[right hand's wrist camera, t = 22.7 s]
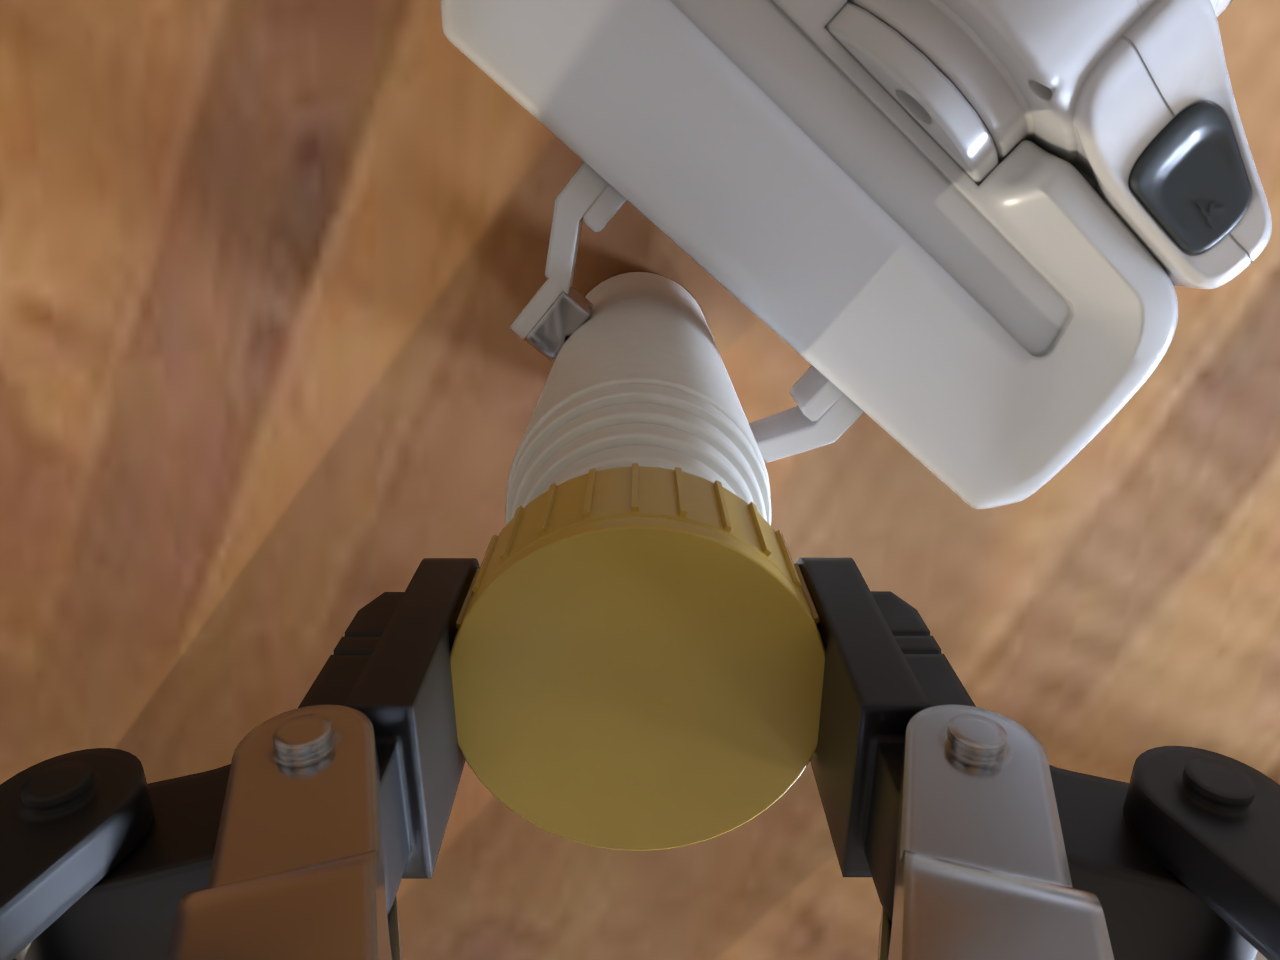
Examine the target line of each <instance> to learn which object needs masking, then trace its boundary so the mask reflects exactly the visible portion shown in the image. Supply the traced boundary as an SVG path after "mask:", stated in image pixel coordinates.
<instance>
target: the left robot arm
mask: <svg viewBox="0 0 1280 960" xmlns="http://www.w3.org/2000/svg"><path fill="white" fill-rule="evenodd" d="M1231 2H1232V0H440V9H441V21H442V30H443V33H444V35H445V36H446V38H447V39H448V40H449V41H450V42H451V43H452V44H453V45H454V46H456V47H457V48H458V49H459V50H460V51H461V52H462V53H463V54H464V55H465V56H467V57H468V58H469V59H470V60H471V61H472V62H473V63H474V64H476V65H477V66H478V67H479V68H480V69H481V70H482V71H483V72H485V73H486V74H487V75H488V76H489V77H490V78H491V79H492V80H493V81H495V82H496V83H497V84H498V85H499V86H500V87H501V88H502V89H504V90H505V91H506V92H507V93H508V94H509V95H510V96H511V97H512V98H514V99H515V100H516V101H517V102H518V103H519V104H520V105H521V106H523V107H524V108H525V109H526V110H527V111H528V112H529V113H530V114H532V115H533V116H534V117H535V118H536V119H537V120H538V121H539V122H540V123H542V124H543V125H544V126H545V127H546V128H547V129H548V130H549V131H551V132H552V133H553V134H554V135H555V136H556V137H557V138H558V139H560V140H561V141H562V142H563V143H564V144H565V145H566V146H567V147H568V148H570V149H571V150H572V151H573V152H574V153H575V154H576V155H577V156H579V157H580V158H581V159H582V160H583V161H584V163H583V164H582V165H581V167H580V168H579V169H578V171H577V172H576V173H575V174H574V176H573V177H572V178H571V180H570V181H569V182H568V183H567V185H566V186H565V187H564V189H563V190H562V191H561V192H560V194H559V195H558V196H557V198H556V199H555V206H554V213H553V220H552V227H551V234H550V241H549V248H548V255H547V262H546V269H545V276H546V277H547V278H548V279H547V280H546V281H545V282H544V284H543V285H542V286H541V287H540V289H539V290H538V291H537V292H536V294H535V295H534V296H533V297H532V299H531V300H530V301H529V302H528V304H527V305H526V306H525V307H524V309H523V310H522V311H521V313H520V314H519V315H518V317H517V318H516V319H515V321H514V322H513V323H512V325H511V326H510V327H509V328H510V329H511V330H512V331H514V332H515V333H516V334H517V335H518V336H519V337H520V338H521V339H524V340H525V341H526V342H527V343H529V344H530V345H531V346H532V347H534V348H535V349H536V350H537V351H539V352H540V353H541V354H543V355H544V356H545V357H546V358H548V359H549V360H550V361H552V360H553V359H554V358H555V357H556V356H557V355H558V353H559V351H560V350H561V348H562V347H563V345H564V343H565V341H566V339H567V336H568V335H572V334H573V333H574V332H575V331H576V330H577V329H578V328H580V327H581V326H582V324H583V323H584V322H585V321H586V320H587V318H588V317H589V316H590V314H591V309H592V307H593V304H592V303H591V302H590V301H589V300H588V299H586V298H585V297H584V296H583V295H582V294H581V293H580V292H578V291H577V290H576V289H575V288H574V287H573V286H572V284H573V278H574V272H575V266H576V259H577V253H578V247H579V241H580V235H581V229H582V223H583V219H584V223H585V224H586V225H587V226H588V227H589V228H591V229H592V230H593V231H594V232H599V231H601V230H602V229H603V228H604V227H605V225H606V224H607V223H608V222H609V221H610V219H611V218H612V217H613V216H614V214H615V213H616V212H617V211H618V210H619V208H620V207H621V206H622V205H623V204H624V202H625V201H626V200H628V201H629V202H630V203H631V204H632V205H633V206H634V207H636V208H637V209H638V210H639V211H640V212H641V213H642V214H643V215H645V216H646V217H647V218H648V219H649V220H650V221H651V222H652V223H654V224H655V225H656V226H657V227H658V228H659V229H660V230H661V231H662V232H664V233H665V234H666V235H667V236H668V237H669V238H670V239H671V240H673V241H674V242H675V243H676V244H677V245H678V246H679V247H680V248H682V249H683V250H684V251H685V252H686V253H687V254H688V255H689V256H690V257H692V258H693V259H694V260H695V261H696V262H697V263H698V264H699V265H701V266H702V267H703V268H704V269H705V270H706V271H707V272H708V273H709V274H711V275H712V276H713V277H714V278H715V279H716V280H717V281H718V282H720V283H721V284H722V285H723V286H724V287H725V288H726V289H727V290H729V291H730V292H731V293H732V294H733V295H734V296H735V297H736V298H737V299H739V300H740V301H741V302H742V303H743V304H744V305H745V306H746V307H748V308H749V309H750V310H751V311H752V312H753V313H754V314H755V315H757V316H758V317H759V318H760V319H761V320H762V321H763V322H764V323H765V324H767V325H768V326H769V327H770V328H771V329H772V330H773V331H774V332H776V333H777V334H778V335H779V336H780V337H781V338H782V339H783V340H784V341H786V342H787V343H788V344H789V345H790V346H791V347H792V348H793V349H795V350H796V351H797V352H798V353H799V354H800V355H801V356H802V357H804V358H805V359H806V360H807V361H808V362H809V363H810V364H811V365H812V366H811V367H810V368H809V369H808V370H807V371H806V372H805V373H804V374H803V375H802V376H801V378H800V379H799V380H798V381H797V382H796V383H795V384H794V385H793V386H792V387H791V389H790V394H791V396H792V397H793V399H794V400H795V402H796V404H797V405H798V406H796V407H794V408H791V409H788V410H785V411H782V412H780V413H777V414H774V415H771V416H769V417H766V418H763V419H760V420H758V421H755V422H752V423H749V426H750V428H751V431H752V433H753V436H754V438H755V440H756V443H757V445H758V448H759V450H760V452H761V455H762V457H763V460H765V461H766V462H767V463H768V462H771V461H774V460H778V459H781V458H784V457H787V456H791V455H794V454H797V453H801V452H804V451H807V450H811V449H814V448H817V447H821V446H824V445H827V444H831V443H834V442H835V441H836V440H837V439H838V438H839V437H840V436H841V435H842V434H843V433H844V432H845V431H846V430H847V429H848V428H849V427H850V426H851V425H852V424H853V423H854V422H855V421H856V420H857V419H858V418H859V417H860V416H861V415H862V414H863V413H864V412H865V413H866V414H867V415H868V416H870V417H871V418H872V419H873V420H874V421H875V422H876V423H877V424H879V425H880V426H881V427H882V428H883V429H884V430H885V431H886V432H887V433H889V434H890V435H891V436H892V437H893V438H894V439H895V440H896V441H898V442H899V443H900V444H901V445H902V446H903V447H904V448H905V449H907V450H908V451H909V452H910V453H911V454H912V455H913V456H914V457H915V458H917V459H918V460H919V461H920V462H921V463H922V464H923V465H924V466H926V467H927V468H928V469H929V470H930V471H931V472H932V473H933V474H934V475H936V476H937V477H938V478H939V479H940V480H941V481H942V482H943V483H945V484H946V485H947V486H948V487H949V488H950V489H951V490H952V491H954V492H955V493H956V494H957V495H958V496H959V497H960V498H961V499H963V500H964V501H965V502H966V503H967V504H968V505H969V506H971V507H973V508H975V509H985V508H992V507H998V506H1003V505H1007V504H1012V503H1016V502H1020V501H1022V500H1024V499H1026V498H1027V497H1029V496H1030V495H1032V494H1033V493H1035V492H1036V491H1037V490H1038V489H1040V488H1041V487H1042V486H1043V485H1044V484H1046V483H1047V482H1048V481H1049V480H1050V479H1051V478H1053V477H1054V476H1055V475H1056V474H1057V473H1058V472H1059V471H1060V470H1061V469H1062V468H1063V467H1064V466H1065V465H1066V464H1067V463H1069V462H1070V461H1071V460H1072V459H1073V458H1074V457H1075V456H1076V455H1077V454H1078V453H1079V452H1080V451H1081V450H1082V449H1083V448H1084V447H1085V446H1086V445H1087V444H1088V443H1089V442H1090V441H1091V440H1092V439H1093V438H1094V437H1095V436H1096V435H1097V434H1098V433H1099V432H1100V431H1101V430H1102V429H1103V428H1104V427H1105V426H1106V425H1107V424H1108V423H1109V422H1110V421H1111V419H1112V418H1113V417H1114V416H1115V415H1116V414H1117V413H1118V412H1119V411H1120V410H1121V409H1122V408H1123V407H1124V405H1125V404H1126V403H1127V402H1128V401H1129V400H1130V399H1131V398H1132V397H1133V396H1134V394H1135V393H1136V392H1137V391H1138V390H1139V389H1140V387H1141V386H1142V385H1143V384H1144V383H1145V382H1146V380H1147V379H1148V378H1149V377H1150V375H1151V374H1152V373H1153V372H1154V370H1155V369H1156V368H1157V366H1158V364H1159V363H1160V361H1161V360H1162V358H1163V357H1164V355H1165V353H1166V352H1167V350H1168V348H1169V346H1170V343H1171V341H1172V339H1173V336H1174V333H1175V329H1176V325H1177V319H1178V301H1177V296H1176V292H1175V289H1174V286H1173V285H1175V286H1182V287H1191V288H1201V289H1213V288H1217V287H1220V286H1222V285H1224V284H1226V283H1227V282H1229V281H1230V280H1232V279H1233V278H1234V277H1236V276H1237V275H1238V274H1240V273H1241V272H1242V271H1243V270H1244V269H1245V268H1247V267H1248V266H1249V265H1250V263H1252V262H1253V261H1254V260H1255V259H1256V258H1257V257H1258V256H1259V255H1260V253H1261V252H1262V251H1263V250H1264V248H1265V247H1266V245H1267V243H1268V242H1269V239H1270V236H1271V231H1272V219H1271V213H1270V209H1269V206H1268V202H1267V199H1266V196H1265V193H1264V190H1263V187H1262V184H1261V181H1260V178H1259V175H1258V172H1257V169H1256V166H1255V163H1254V160H1253V157H1252V154H1251V151H1250V148H1249V145H1248V142H1247V139H1246V136H1245V132H1244V129H1243V126H1242V123H1241V119H1240V116H1239V112H1238V109H1237V105H1236V102H1235V98H1234V95H1233V91H1232V87H1231V83H1230V79H1229V75H1228V70H1227V66H1226V62H1225V57H1224V52H1223V47H1222V42H1221V36H1220V31H1219V26H1218V22H1217V17H1218V16H1219V15H1220V14H1221V13H1222V12H1223V11H1224V9H1225V8H1226V7H1227V6H1228V5H1229V4H1230V3H1231ZM1254 960H1268V959H1266V958H1265V957H1264V956H1263V955H1262V954H1261V953H1260V952H1259V951H1257V954H1256V957H1255V959H1254Z"/></svg>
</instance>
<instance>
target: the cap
mask: <svg viewBox="0 0 1280 960" xmlns="http://www.w3.org/2000/svg"><path fill="white" fill-rule="evenodd" d="M819 622H820V619H819V616H818V614H817V611H816V608H815V606H814V603H813V601H812V598H811V596H810V593H809V591H808V588H807V585H806V583H805V580H804V578H803V575H802V573H801V570H800V568H799V565H798V563H796V564H793V561H792V559H791V556H790V554H789V551H788V548H787V546H786V543H785V540H784V538H783V535H782V533H781V532H780V530H778V531H776V532H775V531H774V529H773V528H772V527H771V526H770V524H769V523H768V522H767V521H766V520H765V519H764V518H763V517H762V516H761V515H760V513H759V512H758V511H757V508H756V505H755V504H754V503H753V502H750V503H749V504H748V503H747V502H745V501H744V500H743V499H742V498H740V497H738V496H737V495H735V494H734V493H732V492H730V491H729V490H727V489H726V488H724V487H722V483H721V482H719V481H717V480H716V481H715V483H713V482H711V481H709V480H707V479H704V478H702V477H698V476H695V475H692V474H689V473H686V472H682V470H681V468H679V467H675V470H671V469H666V468H660V467H642V466H638V463H632V467H618V468H610V469H605V470H600V471H596V469H595V468H594V469H590V470H589V473H588V474H585V475H582V476H579V477H575V478H572V479H570V480H568V481H566V482H563V483H561V484H559V485H556V483H553V484H551V485H550V487H549V490H548V491H546V492H545V493H543V494H542V495H540V496H538V497H537V498H535V499H534V500H532V501H531V502H530V503H529V504H528V505H526V506H525V507H524V508H523V507H522V506H519V507H518V508H517V509H516V512H515V515H514V517H513V518H512V520H511V521H510V522H509V523H508V524H507V525H506V526H505V528H504V529H503V530H502V531H501V533H500V534H499V536H496V535H494V536H493V537H492V539H491V541H490V544H489V546H488V549H487V551H486V554H485V556H484V559H483V562H482V564H481V567H480V569H479V568H477V571H476V573H475V576H474V579H473V581H472V584H471V586H470V589H469V591H468V594H467V596H466V599H465V601H464V604H463V606H462V609H461V611H460V614H459V617H458V619H457V622H456V629H458V631H457V634H456V636H455V639H454V642H453V646H452V649H451V653H450V662H451V674H452V685H453V695H454V706H455V717H456V728H457V738H458V745H459V747H460V749H461V751H462V753H463V755H464V757H465V759H466V761H467V763H468V764H469V766H470V767H471V768H472V770H473V771H474V773H475V774H476V776H477V777H478V778H479V780H480V781H481V782H482V783H483V784H484V785H485V786H486V787H487V789H488V790H489V791H490V792H491V793H492V794H493V795H494V796H495V797H496V798H497V799H498V800H500V801H501V802H502V803H503V804H504V805H506V806H507V807H508V808H509V809H510V810H512V811H513V812H515V813H516V814H518V815H519V816H521V817H522V818H524V819H525V820H527V821H528V822H530V823H532V824H534V825H536V826H538V827H540V828H542V829H544V830H546V831H548V832H550V833H552V834H555V835H558V836H560V837H563V838H566V839H568V840H571V841H575V842H579V843H582V844H586V845H590V846H595V847H601V848H608V849H615V850H633V851H645V850H662V849H669V848H675V847H681V846H687V845H690V844H694V843H698V842H701V841H705V840H709V839H711V838H714V837H716V836H719V835H721V834H724V833H727V832H729V831H731V830H733V829H735V828H737V827H739V826H741V825H742V824H744V823H746V822H748V821H750V820H751V819H753V818H754V817H756V816H757V815H759V814H760V813H762V812H763V811H765V810H766V809H768V808H769V807H770V806H771V805H772V804H773V803H774V802H776V801H777V800H778V799H779V798H780V797H781V796H782V795H784V794H785V792H786V791H787V790H788V789H789V788H790V787H791V786H792V785H793V784H794V782H795V781H796V780H797V779H798V778H799V776H800V775H801V773H802V772H803V770H804V769H805V768H806V766H807V765H808V763H809V762H810V760H811V758H812V756H813V754H814V752H815V750H816V748H817V743H818V732H819V721H820V710H821V698H822V687H823V676H824V665H825V648H824V645H823V642H822V639H821V636H820V633H819V630H818V628H817V625H816V624H818V623H819Z"/></svg>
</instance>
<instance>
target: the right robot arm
mask: <svg viewBox="0 0 1280 960" xmlns="http://www.w3.org/2000/svg"><path fill="white" fill-rule="evenodd" d="M797 563H798V565H799V568H800V570H801V573H802V575H803V578H804V580H805V583H806V585H807V588H808V591H809V593H810V596H811V598H812V601H813V603H814V606H815V608H816V611H817V614H818V616H819V619H820V622H819V623H818V624H816V625H817V628H818V630H819V633H820V636H821V639H822V642H823V645H824V648H825V665H824V676H823V687H822V698H821V710H820V721H819V732H818V743H817V748H816V750H815V752H814V754H813V756H812V758H811V760H810V762H811V765H812V769H813V772H814V776H815V779H816V783H817V786H818V790H819V793H820V797H821V801H822V804H823V808H824V811H825V815H826V818H827V822H828V825H829V829H830V833H831V836H832V840H833V843H834V847H835V850H836V854H837V857H838V861H839V865H840V868H841V872H842V875H843V877H873V880H874V883H875V886H876V889H877V893H878V896H879V899H880V902H881V904H882V914H881V921H880V931H879V945H878V960H1254V959H1255V957H1256V954H1257V951H1259V952H1260V953H1261V954H1262V955H1263V956H1264V957H1265V958H1266V959H1268V960H1280V785H1279V784H1277V783H1276V782H1275V781H1273V780H1272V779H1270V778H1269V777H1267V776H1265V775H1264V774H1262V773H1261V772H1259V771H1257V770H1255V769H1254V768H1252V767H1250V766H1248V765H1246V764H1244V763H1241V762H1239V761H1237V760H1235V759H1232V758H1230V757H1227V756H1224V755H1221V754H1218V753H1215V752H1211V751H1207V750H1203V749H1198V748H1192V747H1184V746H1163V747H1156V748H1153V749H1150V750H1147V751H1146V752H1144V753H1142V754H1141V755H1140V756H1139V757H1138V758H1137V759H1136V762H1135V764H1134V767H1133V771H1132V775H1131V779H1130V783H1125V782H1120V781H1115V780H1110V779H1106V778H1101V777H1096V776H1091V775H1087V774H1082V773H1077V772H1072V771H1068V770H1064V769H1060V768H1056V767H1053V766H1050V765H1049V762H1048V758H1047V755H1046V752H1045V749H1044V748H1043V746H1042V745H1041V743H1040V742H1039V741H1038V740H1037V738H1036V737H1035V736H1034V735H1033V734H1032V733H1030V732H1029V731H1028V730H1027V729H1026V728H1024V727H1023V726H1021V725H1020V724H1018V723H1017V722H1015V721H1013V720H1011V719H1009V718H1007V717H1005V716H1003V715H1000V714H998V713H995V712H992V711H989V710H986V709H982V708H978V707H976V706H975V704H974V703H973V701H972V699H971V698H970V696H969V695H968V693H967V691H966V690H965V688H964V686H963V685H962V683H961V682H960V680H959V678H958V677H957V675H956V673H955V672H954V670H953V668H952V667H951V665H950V664H949V662H948V660H947V659H946V657H945V655H944V654H941V649H940V647H939V646H938V644H937V642H936V641H935V639H934V637H933V636H930V631H929V629H928V628H927V626H926V624H925V623H924V621H923V619H922V618H921V616H920V615H919V613H918V611H917V610H916V609H915V608H913V607H912V606H910V605H909V604H907V603H906V602H905V601H903V600H902V599H900V598H899V597H898V596H896V595H895V594H893V593H892V592H870V590H869V588H868V586H867V584H866V582H865V581H864V579H863V577H862V575H861V573H860V571H859V569H858V567H857V565H856V564H855V562H854V560H853V559H852V558H799V560H798V562H797ZM477 568H479V569H480V567H479V563H478V561H477V559H476V558H425V559H423V560H422V561H421V563H420V565H419V567H418V569H417V571H416V572H415V574H414V576H413V578H412V580H411V582H410V583H409V585H408V587H407V589H406V591H405V592H384V593H383V594H382V595H380V596H379V597H377V598H376V599H374V600H373V601H372V602H370V603H369V604H367V605H366V606H365V607H363V608H362V609H360V610H359V611H358V612H357V614H356V615H355V617H354V619H353V620H352V622H351V623H350V625H349V627H348V628H347V630H346V632H345V637H342V638H341V640H340V641H339V643H338V644H337V646H336V648H335V649H334V655H331V656H330V657H329V659H328V660H327V662H326V664H325V665H324V667H323V669H322V670H321V672H320V673H319V675H318V677H317V678H316V680H315V681H314V683H313V685H312V686H311V688H310V689H309V691H308V693H307V694H306V696H305V697H304V699H303V701H302V702H301V704H300V706H299V707H298V709H294V710H291V711H288V712H285V713H282V714H280V715H277V716H275V717H273V718H271V719H269V720H267V721H265V722H263V723H262V724H260V725H259V726H257V727H256V728H254V729H253V730H252V731H251V732H250V733H248V734H247V735H246V736H245V737H244V738H243V740H242V741H241V742H240V743H239V745H238V746H237V748H236V750H235V752H234V755H233V758H232V763H231V764H230V765H227V766H224V767H221V768H218V769H214V770H210V771H206V772H202V773H197V774H193V775H188V776H183V777H178V778H174V779H169V780H164V781H159V782H155V783H150V784H147V782H146V778H145V774H144V770H143V767H142V764H141V762H140V761H139V759H138V758H137V757H136V756H134V755H132V754H131V753H129V752H126V751H123V750H118V749H111V748H96V749H86V750H81V751H75V752H71V753H67V754H63V755H60V756H57V757H54V758H51V759H48V760H45V761H43V762H41V763H38V764H36V765H34V766H31V767H29V768H28V769H26V770H24V771H22V772H20V773H18V774H16V775H15V776H13V777H12V778H10V779H9V780H7V781H5V782H4V783H3V784H1V785H0V960H402V945H401V930H400V921H399V913H398V906H397V898H396V893H397V890H398V887H399V884H400V881H401V878H432V874H433V871H434V867H435V864H436V860H437V857H438V854H439V850H440V847H441V843H442V840H443V836H444V833H445V829H446V826H447V822H448V819H449V816H450V812H451V809H452V805H453V802H454V798H455V795H456V791H457V788H458V784H459V781H460V777H461V774H462V771H463V767H464V764H465V760H466V759H465V757H464V755H463V753H462V751H461V749H460V747H459V745H458V738H457V728H456V717H455V706H454V695H453V685H452V674H451V662H450V653H451V649H452V646H453V642H454V639H455V636H456V634H457V631H458V629H456V622H457V619H458V617H459V614H460V611H461V609H462V606H463V604H464V601H465V599H466V596H467V594H468V591H469V589H470V586H471V584H472V581H473V579H474V576H475V573H476V571H477Z"/></svg>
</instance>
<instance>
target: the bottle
mask: <svg viewBox="0 0 1280 960" xmlns="http://www.w3.org/2000/svg"><path fill="white" fill-rule="evenodd" d="M585 298H586V299H588V300H589V301H590V302H591V303H592V304H593V307H592V309H591V314H590V316H589V317H588V318H587V320H586V321H585V322H584V323H583V324H582V326H581V327H580V328H578V329H577V330H576V331H575V332H574V333H573V334H572V335H568V336H567V339H566V341H565V343H564V345H563V347H562V348H561V350H560V351H559V353H558V355H557V356H556V359H555V361H554V364H553V366H552V368H551V371H550V373H549V376H548V378H547V380H546V383H545V385H544V388H543V390H542V392H541V395H540V397H539V400H538V402H537V404H536V407H535V409H534V412H533V414H532V416H531V419H530V421H529V424H528V426H527V428H526V431H525V433H524V435H523V438H522V440H521V443H520V445H519V447H518V450H517V452H516V455H515V457H514V460H513V463H512V466H511V470H510V473H509V478H508V485H507V500H506V525H507V524H508V523H509V522H510V521H511V520H512V518H513V517H514V515H515V512H516V509H517V508H518V507H519V506H522V507H523V508H524V507H525V506H526V505H528V504H529V503H530V502H531V501H532V500H534V499H535V498H537V497H538V496H540V495H542V494H543V493H545V492H546V491H548V490H549V487H550V485H551V484H553V483H556V485H559V484H561V483H563V482H566V481H568V480H570V479H572V478H575V477H579V476H582V475H585V474H588V473H589V470H590V469H594V468H595V469H596V471H600V470H605V469H610V468H618V467H632V463H638V466H642V467H660V468H666V469H671V470H675V467H679V468H681V470H682V472H686V473H689V474H692V475H695V476H698V477H702V478H704V479H707V480H709V481H711V482H713V483H715V481H716V480H717V481H719V482H721V483H722V487H724V488H726V489H727V490H729V491H730V492H732V493H734V494H735V495H737V496H738V497H740V498H742V499H743V500H744V501H745V502H747V503H748V504H749V503H750V502H753V503H754V504H755V505H756V508H757V511H758V512H759V513H760V515H761V516H762V517H763V518H764V519H765V520H766V521H767V522H768V523H769V524H770V526H771V501H770V485H769V479H768V473H767V470H766V467H765V463H764V460H763V457H762V455H761V452H760V450H759V448H758V445H757V443H756V440H755V438H754V436H753V433H752V431H751V428H750V426H749V424H748V421H747V419H746V416H745V414H744V412H743V409H742V407H741V404H740V402H739V399H738V397H737V395H736V392H735V390H734V387H733V385H732V383H731V380H730V378H729V375H728V373H727V371H726V368H725V366H724V363H723V361H722V358H721V356H720V354H719V351H718V349H717V346H716V344H715V342H714V339H713V337H712V334H711V332H710V330H709V327H708V325H707V322H706V320H705V317H704V315H703V313H702V311H701V309H700V307H699V305H698V304H697V302H696V301H695V299H694V298H693V297H692V296H691V295H690V294H689V293H688V292H687V291H686V290H685V289H684V288H683V287H682V286H680V285H679V284H677V283H676V282H674V281H672V280H670V279H668V278H666V277H664V276H661V275H658V274H653V273H648V272H629V273H624V274H619V275H617V276H614V277H611V278H609V279H607V280H605V281H603V282H601V283H600V284H599V285H597V286H596V287H594V288H593V289H592V290H591V291H590V292H589V293H588V294H587V295H586V296H585Z"/></svg>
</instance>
